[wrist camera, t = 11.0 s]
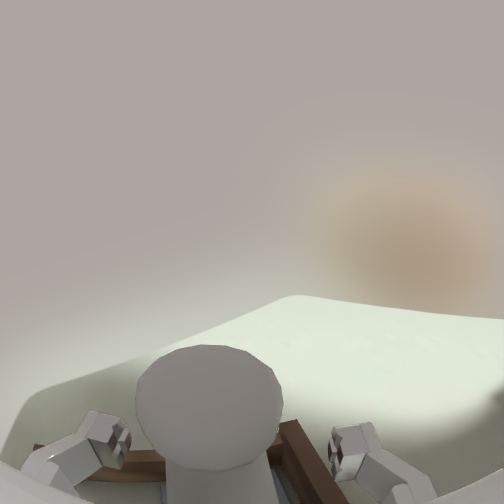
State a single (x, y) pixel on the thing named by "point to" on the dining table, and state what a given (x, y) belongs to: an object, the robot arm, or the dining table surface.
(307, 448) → the bay
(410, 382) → the dining table surface
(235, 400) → the salt shaker
